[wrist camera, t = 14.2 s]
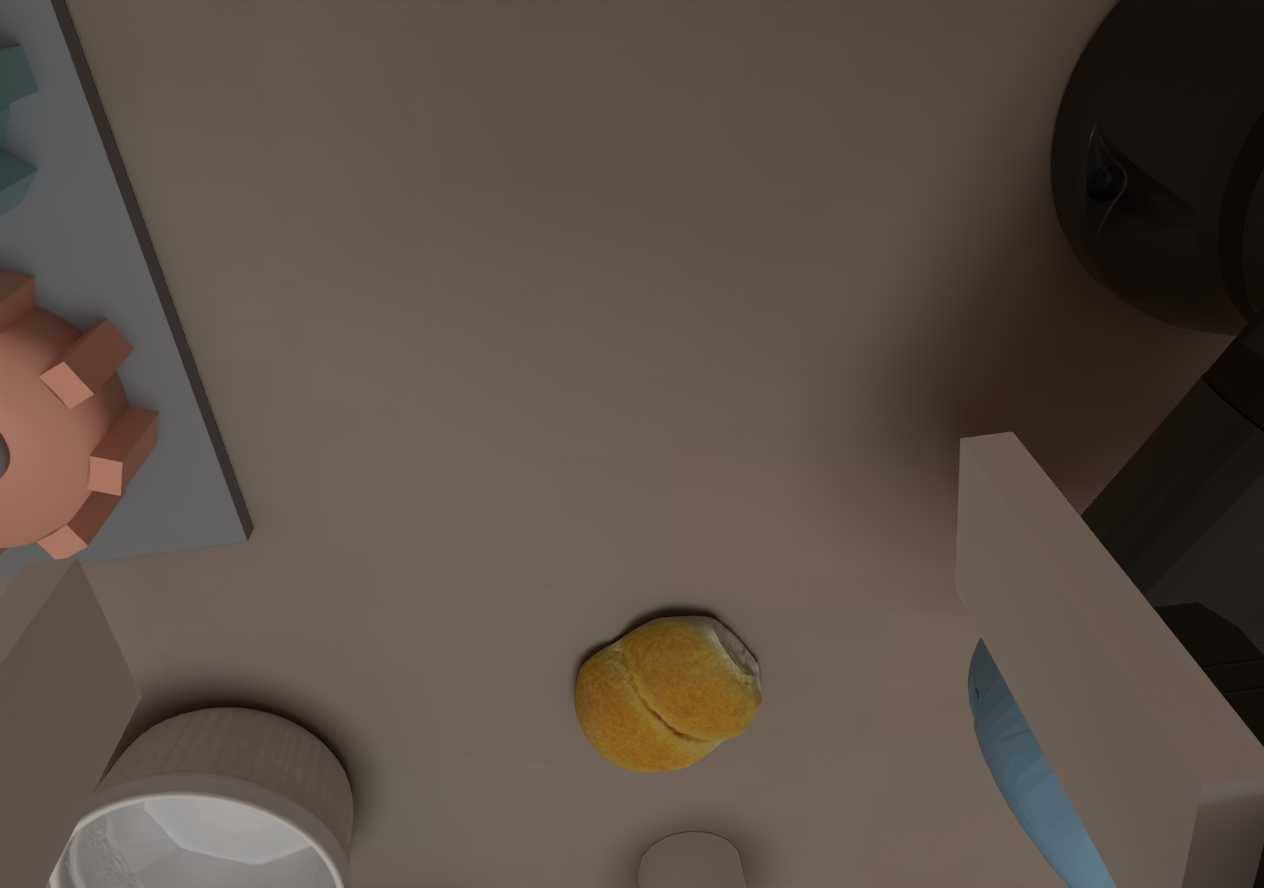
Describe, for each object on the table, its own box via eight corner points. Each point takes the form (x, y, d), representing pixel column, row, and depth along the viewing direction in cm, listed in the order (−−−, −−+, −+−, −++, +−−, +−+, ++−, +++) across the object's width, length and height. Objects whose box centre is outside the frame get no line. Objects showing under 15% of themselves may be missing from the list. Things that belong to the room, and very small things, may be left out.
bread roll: (543, 677, 52) (541, 736, 48) (687, 581, 49) (697, 635, 46) (645, 768, 55) (651, 829, 52) (785, 682, 53) (801, 740, 49)
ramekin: (66, 811, 54) (2, 931, 48) (168, 642, 49) (112, 751, 43) (301, 898, 58) (271, 1018, 52) (417, 749, 53) (399, 863, 47)
